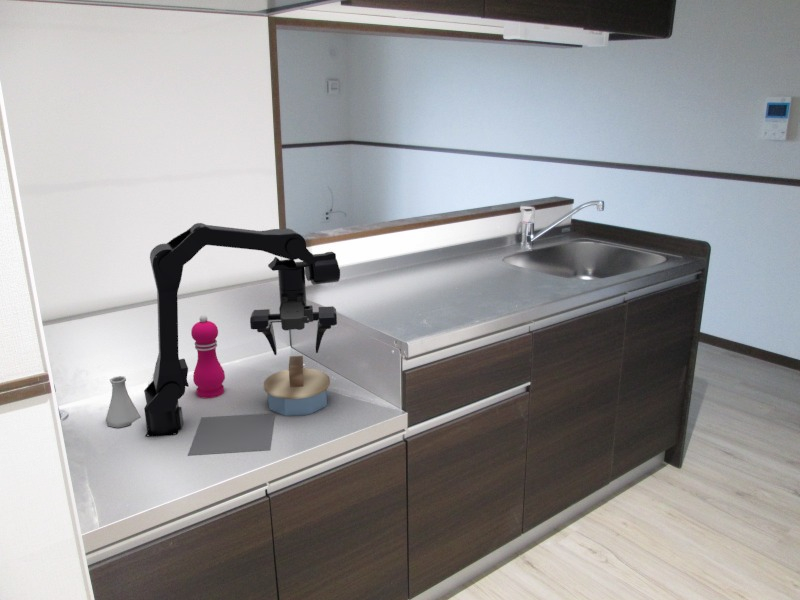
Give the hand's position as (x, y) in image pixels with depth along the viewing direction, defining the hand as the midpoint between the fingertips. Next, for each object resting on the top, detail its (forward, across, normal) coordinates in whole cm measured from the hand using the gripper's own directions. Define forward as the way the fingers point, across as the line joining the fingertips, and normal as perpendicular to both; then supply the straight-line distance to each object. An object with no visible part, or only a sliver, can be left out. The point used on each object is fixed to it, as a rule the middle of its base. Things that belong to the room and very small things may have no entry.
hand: (296, 353), depth 144 cm
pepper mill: (+13, -21, +8) cm, 26 cm away
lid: (+8, 0, 0) cm, 8 cm away
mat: (+12, -13, -13) cm, 22 cm away
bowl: (+13, 0, 0) cm, 13 cm away
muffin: (+13, -32, +8) cm, 36 cm away
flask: (+13, -38, -3) cm, 40 cm away
